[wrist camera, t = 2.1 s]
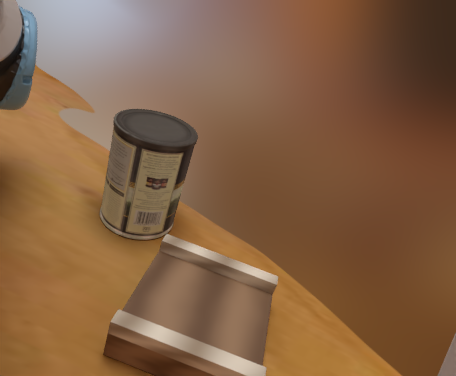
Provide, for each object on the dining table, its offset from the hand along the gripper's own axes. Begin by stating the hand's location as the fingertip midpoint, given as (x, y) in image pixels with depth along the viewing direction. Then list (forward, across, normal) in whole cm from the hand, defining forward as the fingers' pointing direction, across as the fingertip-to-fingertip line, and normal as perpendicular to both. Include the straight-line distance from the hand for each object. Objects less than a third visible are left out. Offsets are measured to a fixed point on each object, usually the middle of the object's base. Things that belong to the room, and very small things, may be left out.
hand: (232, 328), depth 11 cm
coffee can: (+41, -9, -14) cm, 44 cm away
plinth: (+26, +1, -19) cm, 32 cm away
